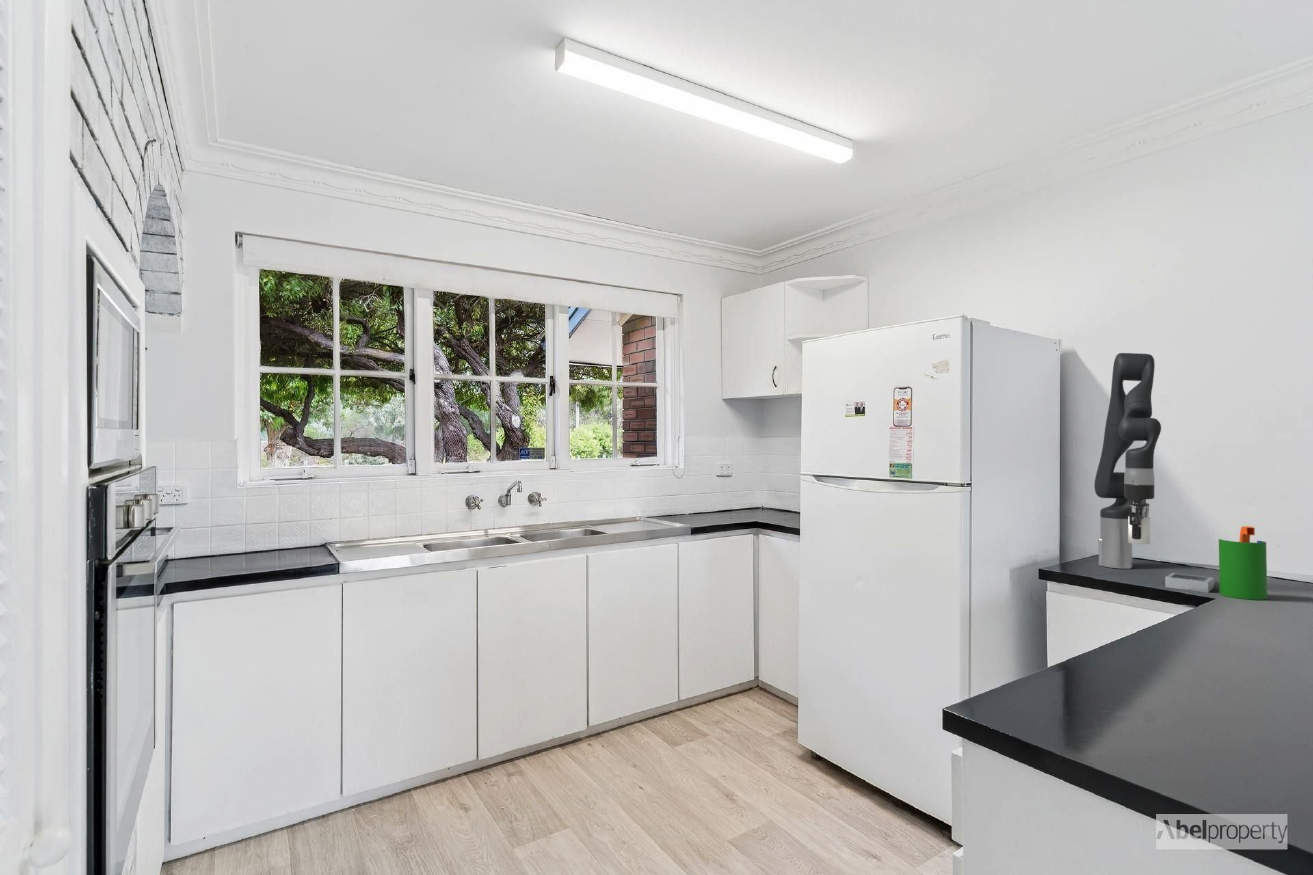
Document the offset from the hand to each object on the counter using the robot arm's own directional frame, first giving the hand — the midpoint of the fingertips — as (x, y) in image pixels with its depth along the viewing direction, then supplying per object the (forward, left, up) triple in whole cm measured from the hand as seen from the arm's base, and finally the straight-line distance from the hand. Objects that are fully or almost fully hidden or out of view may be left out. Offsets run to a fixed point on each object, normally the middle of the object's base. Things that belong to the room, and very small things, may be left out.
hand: (1138, 537), depth 205 cm
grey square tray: (+11, +6, -14) cm, 19 cm away
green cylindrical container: (+24, +2, -14) cm, 28 cm away
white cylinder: (0, 0, -2) cm, 2 cm away
